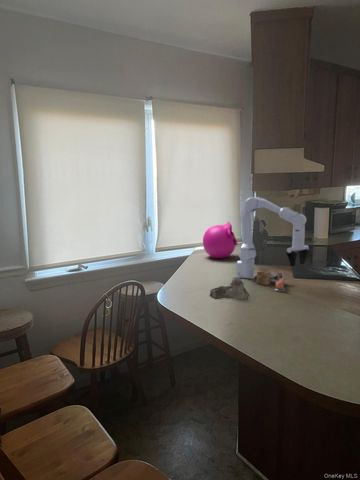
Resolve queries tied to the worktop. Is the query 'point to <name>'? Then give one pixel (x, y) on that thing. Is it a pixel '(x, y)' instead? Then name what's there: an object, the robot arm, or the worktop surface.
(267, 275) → the eye block
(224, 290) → the rock
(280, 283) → the latch lever
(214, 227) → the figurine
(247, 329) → the worktop surface
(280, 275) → the bolt
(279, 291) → the lever base
